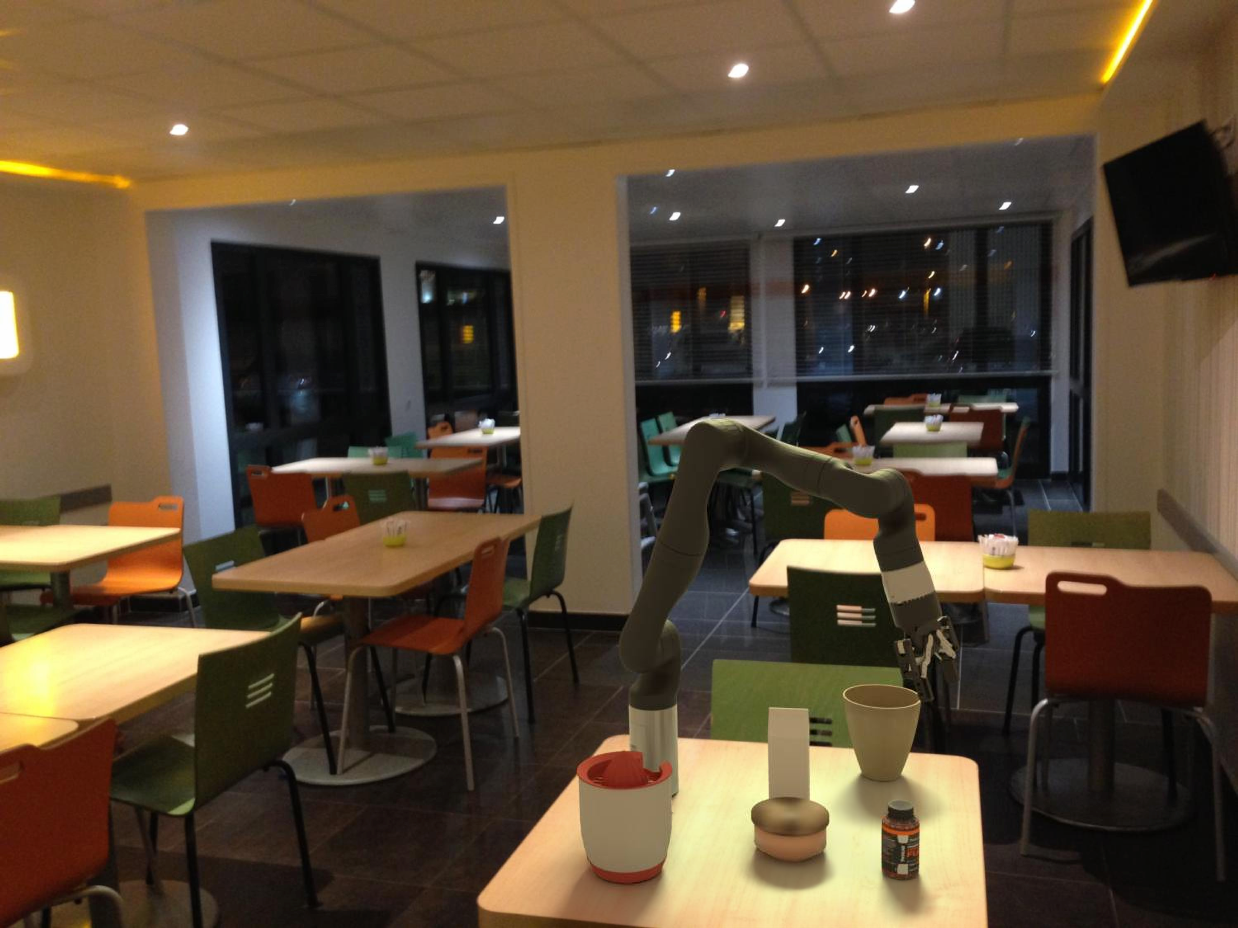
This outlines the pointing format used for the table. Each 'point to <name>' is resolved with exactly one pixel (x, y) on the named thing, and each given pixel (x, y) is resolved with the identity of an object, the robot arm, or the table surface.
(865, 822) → the table surface
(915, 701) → the plant pot
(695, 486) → the robot arm
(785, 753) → the milk carton
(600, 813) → the citrus juicer
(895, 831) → the supplement bottle
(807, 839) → the terracotta bowl
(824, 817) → the walnut lid
